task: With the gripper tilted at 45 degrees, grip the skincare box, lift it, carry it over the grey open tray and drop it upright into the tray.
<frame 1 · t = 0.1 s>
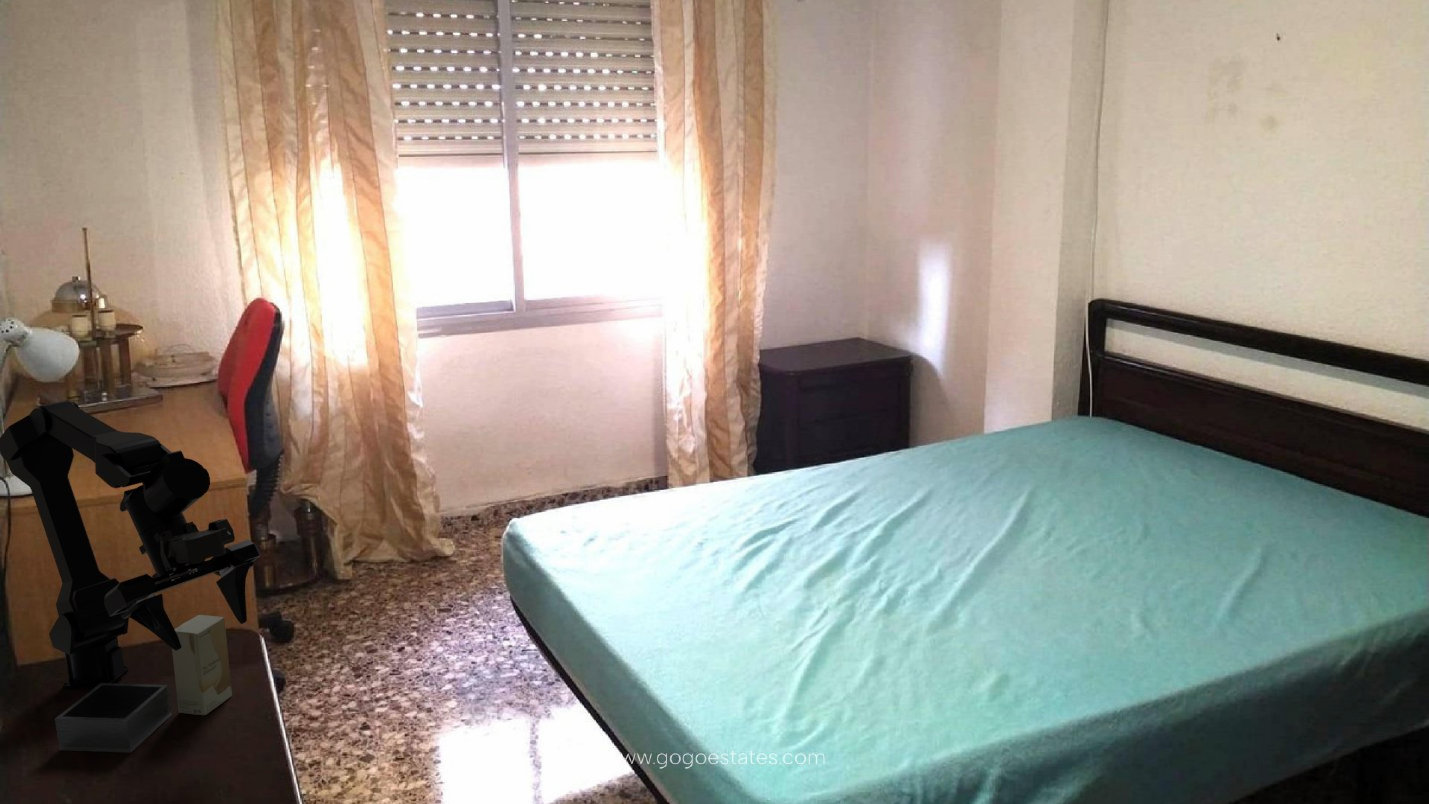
hand: (212, 635, 138), 15 cm above the table, tool tilted 35°, fingers open, 9 cm apart
grey open tray: (117, 731, 143), on the table
skincare box: (206, 705, 150), on the table
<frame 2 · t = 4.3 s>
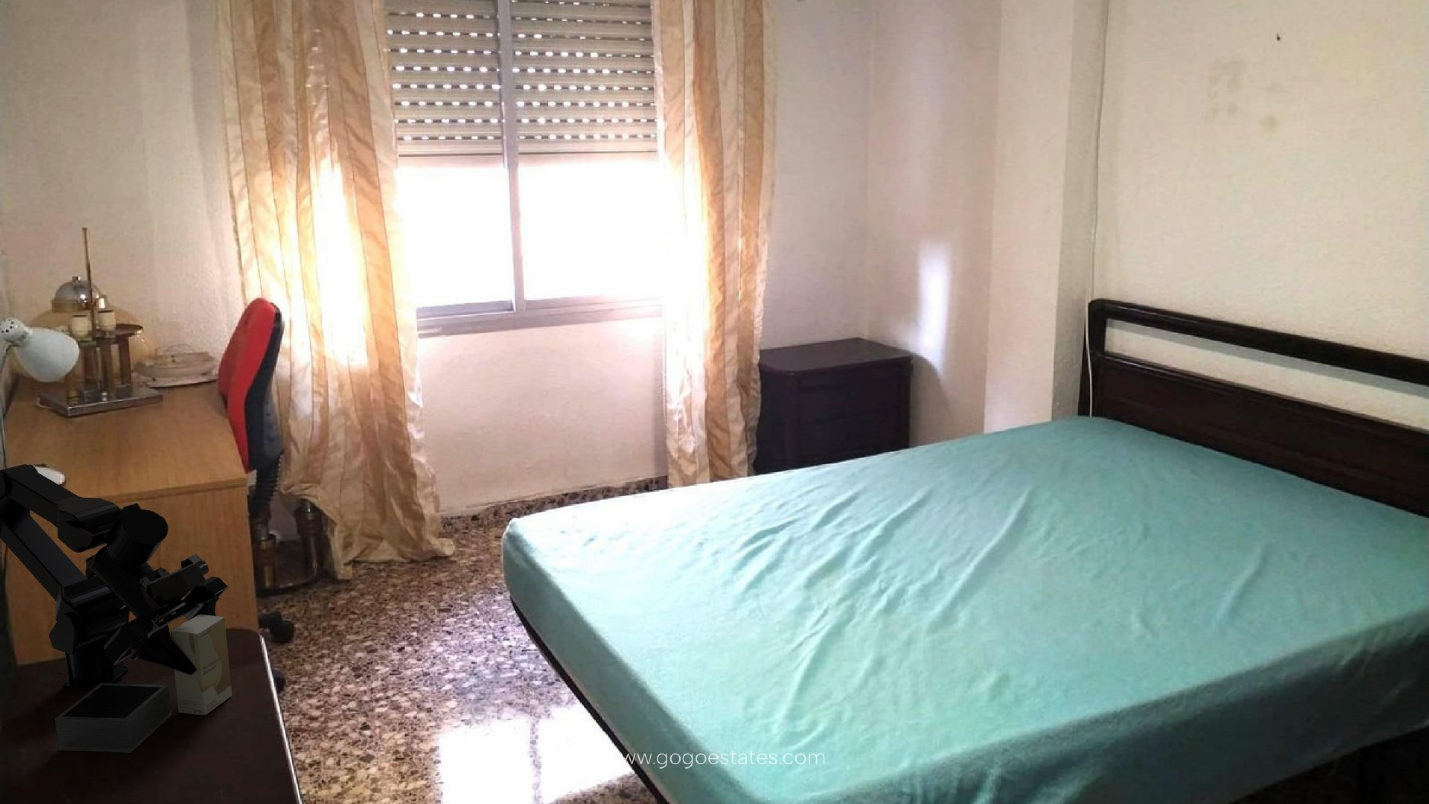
hand: (210, 661, 149), 7 cm above the table, tool tilted 45°, fingers closed on skincare box, 6 cm apart
skincare box: (206, 705, 150), on the table, touching gripper
when the fingers open (8 cm above the table, at t = 8.4 s): skincare box drops 1 cm, resting on grey open tray.
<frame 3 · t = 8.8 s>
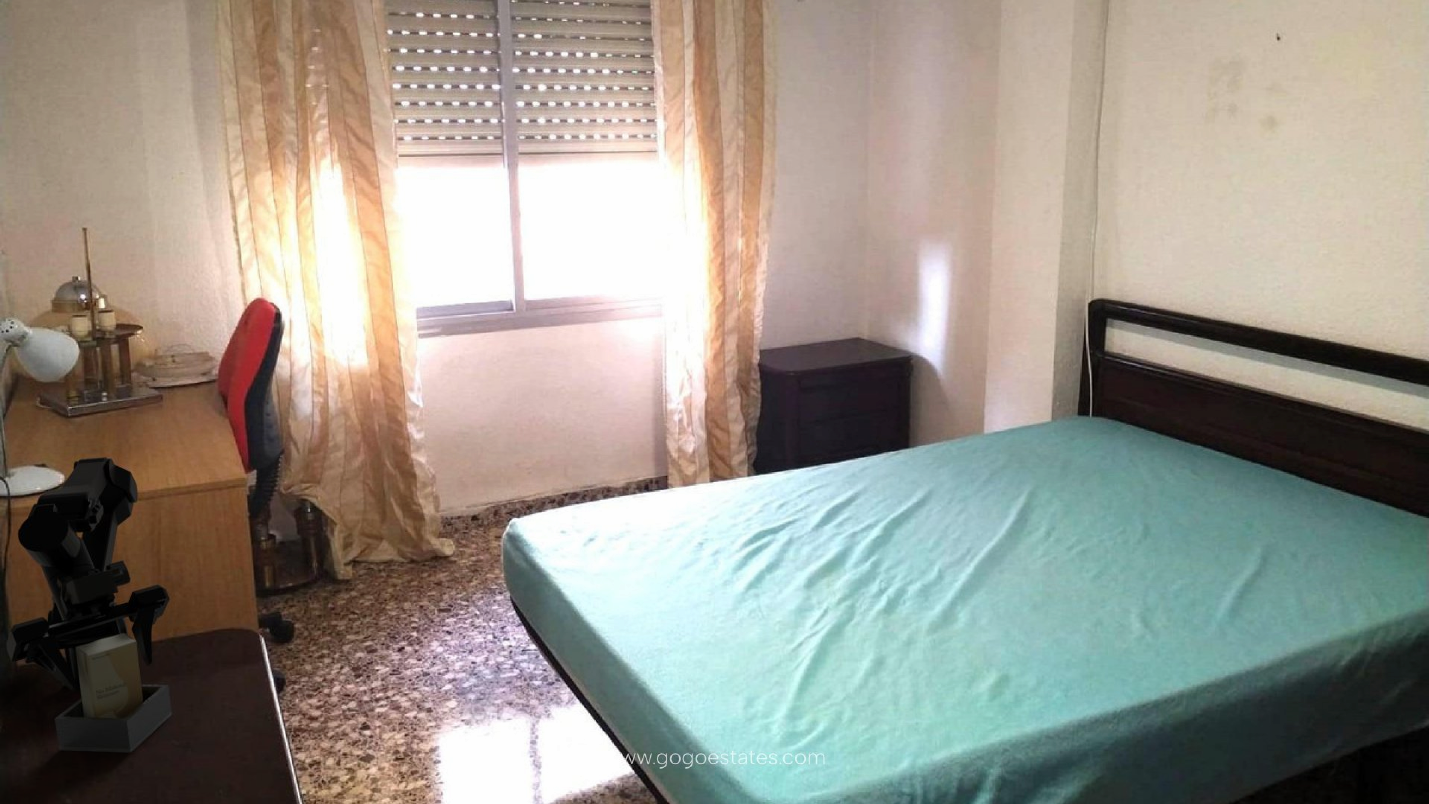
hand: (113, 676, 140), 9 cm above the table, tool tilted 45°, fingers open, 9 cm apart
skincare box: (117, 729, 143), resting on grey open tray
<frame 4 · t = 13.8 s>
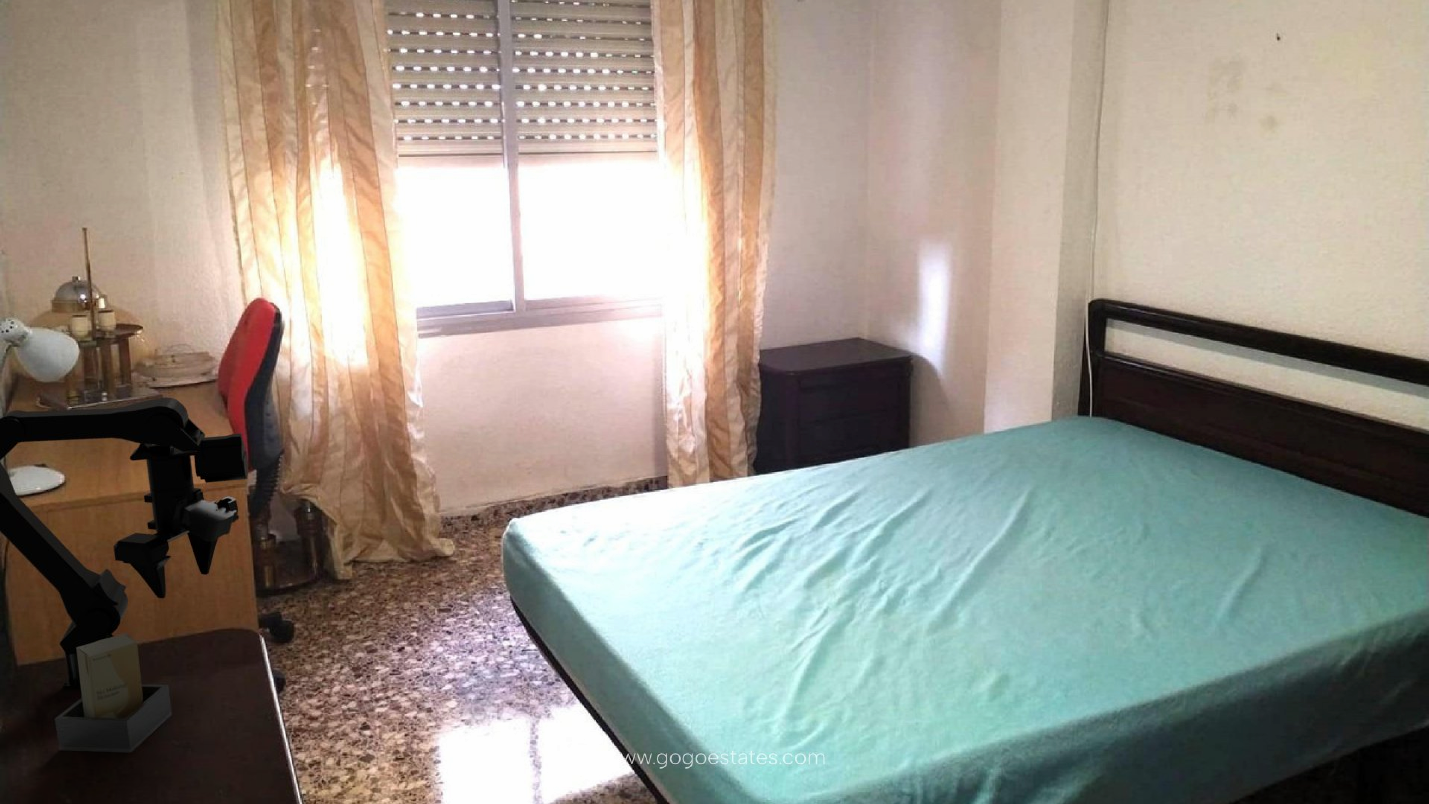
hand: (183, 585, 159), 13 cm above the table, tool pointing down, fingers open, 9 cm apart
nothing on the table moved.
at the end: skincare box 0.1 cm off-centre on the grey open tray, point 0.3 cm above the grey open tray's base; skincare box tilted 0°; the gripper is holding nothing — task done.
